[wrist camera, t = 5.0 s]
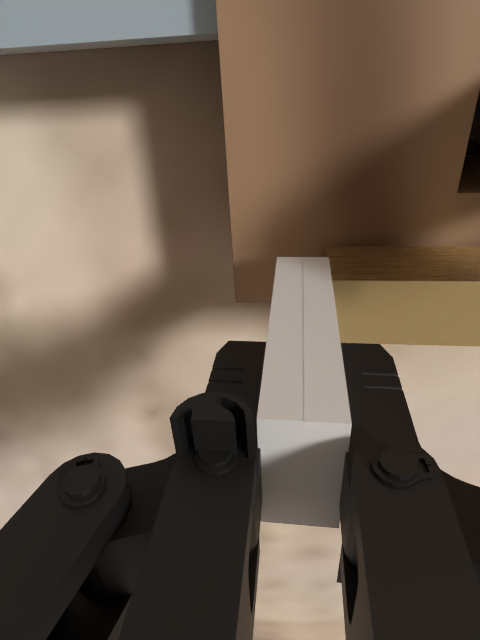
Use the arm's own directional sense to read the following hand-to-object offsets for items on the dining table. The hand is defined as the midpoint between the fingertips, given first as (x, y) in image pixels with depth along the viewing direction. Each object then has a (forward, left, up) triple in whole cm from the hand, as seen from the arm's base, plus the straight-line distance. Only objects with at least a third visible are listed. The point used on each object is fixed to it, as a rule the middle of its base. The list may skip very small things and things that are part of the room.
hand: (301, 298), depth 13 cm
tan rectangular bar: (+4, 0, -1) cm, 4 cm away
